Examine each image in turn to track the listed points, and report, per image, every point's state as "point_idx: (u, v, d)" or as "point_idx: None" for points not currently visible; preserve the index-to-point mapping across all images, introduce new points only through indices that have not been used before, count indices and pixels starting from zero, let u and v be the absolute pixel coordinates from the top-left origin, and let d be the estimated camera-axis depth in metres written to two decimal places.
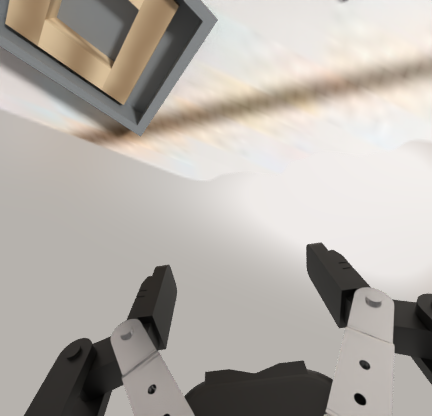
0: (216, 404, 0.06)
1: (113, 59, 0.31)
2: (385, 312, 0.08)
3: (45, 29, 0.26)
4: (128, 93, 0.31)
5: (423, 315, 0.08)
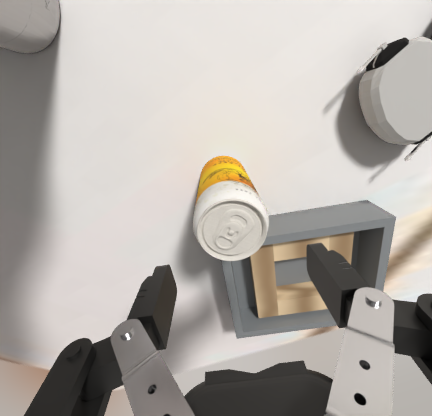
0: (216, 404, 0.06)
1: None
2: (385, 312, 0.08)
3: (279, 305, 0.35)
4: None
5: (423, 315, 0.08)
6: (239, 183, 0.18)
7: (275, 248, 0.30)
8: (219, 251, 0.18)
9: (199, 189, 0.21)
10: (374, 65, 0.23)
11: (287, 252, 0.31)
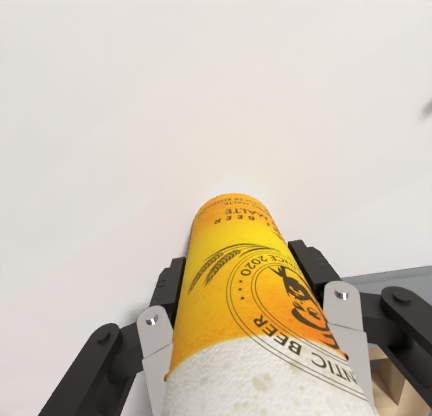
0: None
1: (371, 371, 0.24)
2: (350, 303, 0.08)
3: None
4: (428, 410, 0.21)
5: (388, 308, 0.08)
6: (304, 360, 0.05)
7: None
8: None
9: (181, 303, 0.09)
10: None
11: None
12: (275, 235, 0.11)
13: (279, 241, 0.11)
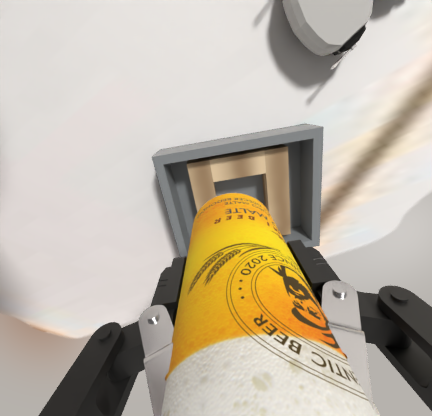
0: None
1: None
2: (348, 302, 0.08)
3: None
4: (289, 224, 0.35)
5: (385, 307, 0.08)
6: (304, 359, 0.05)
7: (213, 167, 0.31)
8: None
9: (181, 303, 0.09)
10: None
11: (225, 171, 0.31)
12: (275, 235, 0.11)
13: (279, 241, 0.11)
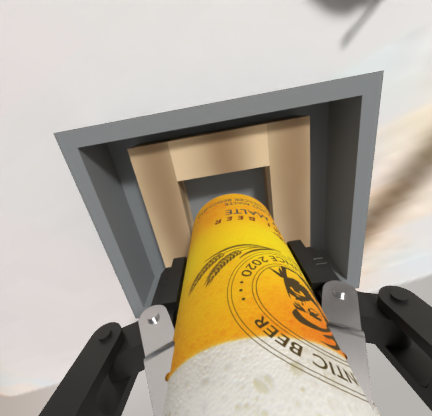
0: None
1: None
2: (348, 302, 0.08)
3: None
4: None
5: (385, 307, 0.08)
6: (305, 361, 0.05)
7: (174, 154, 0.17)
8: None
9: (182, 304, 0.09)
10: None
11: (197, 163, 0.18)
12: (276, 236, 0.11)
13: (280, 242, 0.11)
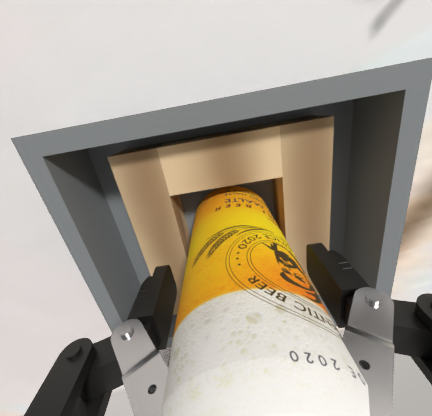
0: None
1: None
2: (385, 312, 0.08)
3: None
4: None
5: (423, 315, 0.08)
6: (288, 305, 0.07)
7: (166, 164, 0.14)
8: None
9: (186, 276, 0.10)
10: None
11: (193, 174, 0.14)
12: (270, 220, 0.13)
13: (273, 225, 0.12)
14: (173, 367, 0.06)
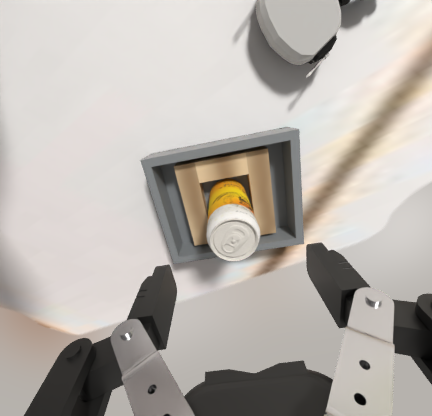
0: (216, 404, 0.06)
1: None
2: (385, 312, 0.08)
3: None
4: (274, 222, 0.37)
5: (423, 315, 0.08)
6: (238, 206, 0.25)
7: (198, 169, 0.33)
8: (225, 254, 0.25)
9: (210, 208, 0.29)
10: None
11: (210, 173, 0.33)
12: (241, 191, 0.32)
13: (242, 193, 0.31)
14: (209, 221, 0.25)
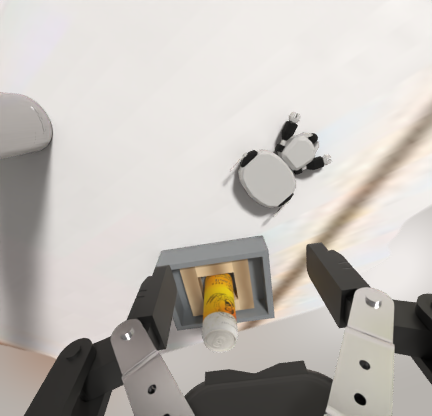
0: (216, 404, 0.06)
1: (234, 289, 0.51)
2: (385, 312, 0.08)
3: None
4: (252, 301, 0.49)
5: (423, 315, 0.08)
6: (224, 314, 0.38)
7: (196, 269, 0.45)
8: (214, 348, 0.37)
9: (204, 306, 0.41)
10: (240, 165, 0.38)
11: (205, 271, 0.46)
12: (227, 288, 0.44)
13: (228, 290, 0.44)
14: (204, 325, 0.38)
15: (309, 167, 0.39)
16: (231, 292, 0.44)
